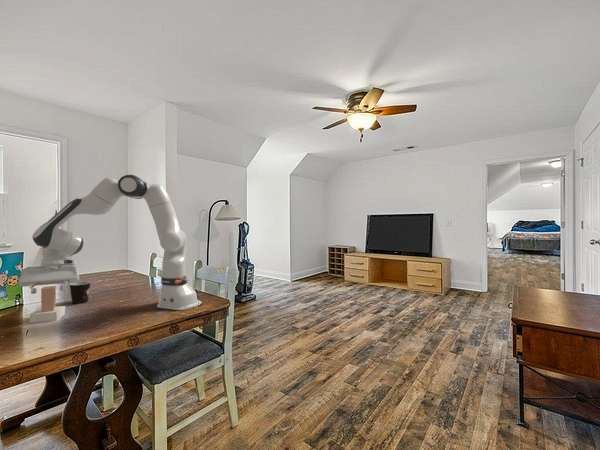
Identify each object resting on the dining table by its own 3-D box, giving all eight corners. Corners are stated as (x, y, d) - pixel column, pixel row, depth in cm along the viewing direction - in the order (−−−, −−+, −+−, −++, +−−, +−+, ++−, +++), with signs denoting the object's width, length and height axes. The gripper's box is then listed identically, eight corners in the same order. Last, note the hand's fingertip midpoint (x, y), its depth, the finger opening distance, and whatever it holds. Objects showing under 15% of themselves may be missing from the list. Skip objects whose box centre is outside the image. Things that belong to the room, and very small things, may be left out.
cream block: (65, 314, 128) (65, 305, 128) (56, 321, 120) (56, 312, 120) (40, 316, 125) (40, 307, 124) (29, 323, 116) (29, 314, 116)
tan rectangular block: (55, 307, 125) (55, 285, 124) (53, 310, 121) (53, 288, 121) (43, 309, 123) (43, 286, 122) (41, 312, 119) (41, 289, 119)
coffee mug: (78, 305, 140) (78, 285, 139) (64, 303, 141) (65, 284, 141) (99, 298, 151) (99, 280, 151) (86, 297, 153) (86, 279, 153)
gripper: (20, 263, 122) (13, 290, 114) (79, 260, 133) (76, 285, 125) (24, 271, 126) (16, 298, 118) (81, 268, 137) (78, 292, 129)
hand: (48, 291), depth 121 cm, fingers open, 8 cm apart
